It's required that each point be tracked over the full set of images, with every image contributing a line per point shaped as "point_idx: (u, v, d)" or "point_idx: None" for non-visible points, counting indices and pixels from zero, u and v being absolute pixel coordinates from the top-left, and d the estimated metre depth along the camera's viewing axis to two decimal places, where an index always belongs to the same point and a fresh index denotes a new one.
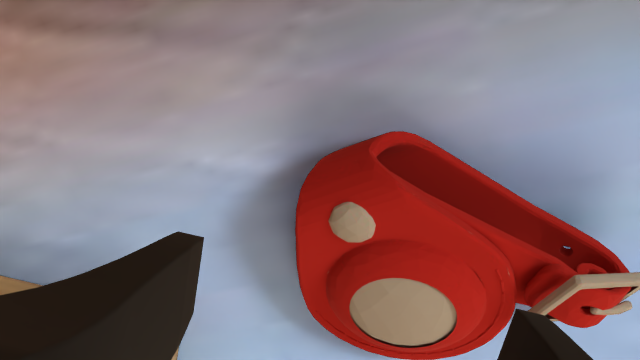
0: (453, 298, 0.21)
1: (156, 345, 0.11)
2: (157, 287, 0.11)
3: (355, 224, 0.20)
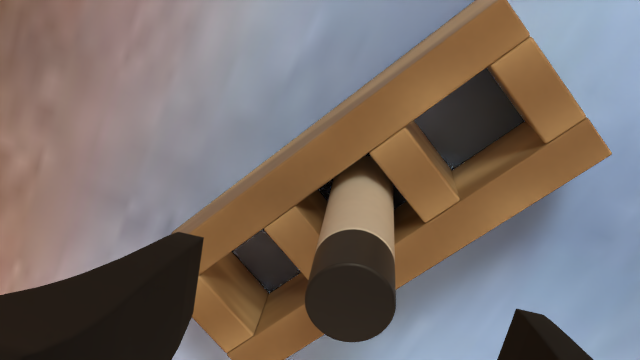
0: None
1: (156, 345, 0.11)
2: (157, 287, 0.11)
3: None
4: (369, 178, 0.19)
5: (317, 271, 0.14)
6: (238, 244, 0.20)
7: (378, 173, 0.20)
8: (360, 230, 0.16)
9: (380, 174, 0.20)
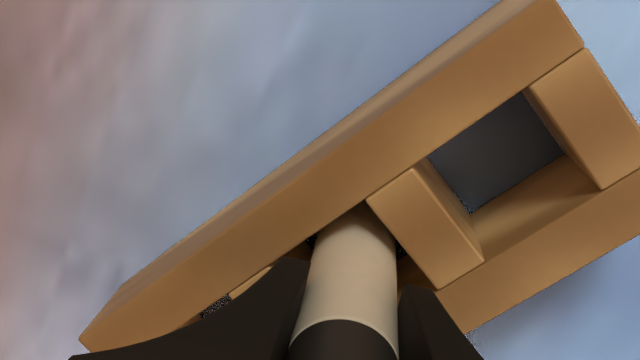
0: None
1: None
2: (288, 317, 0.11)
3: None
4: (364, 229, 0.15)
5: None
6: (195, 313, 0.15)
7: (376, 220, 0.16)
8: (350, 320, 0.11)
9: (378, 222, 0.16)
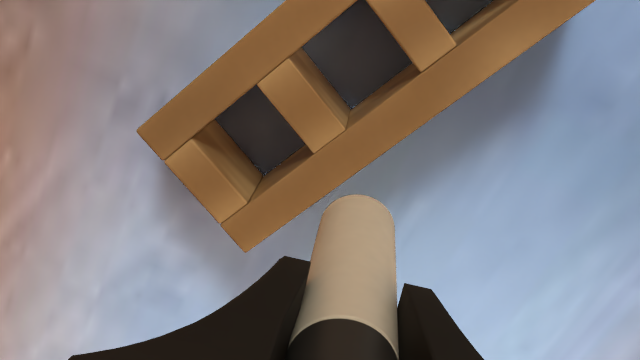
0: None
1: None
2: (288, 317, 0.11)
3: None
4: (364, 229, 0.15)
5: None
6: (230, 102, 0.20)
7: (375, 219, 0.16)
8: (350, 319, 0.11)
9: (378, 221, 0.16)
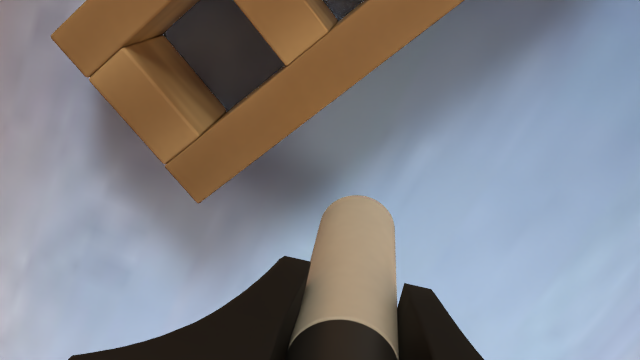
0: None
1: None
2: (288, 317, 0.11)
3: None
4: (363, 230, 0.15)
5: None
6: None
7: (376, 220, 0.16)
8: (350, 320, 0.11)
9: (378, 222, 0.16)
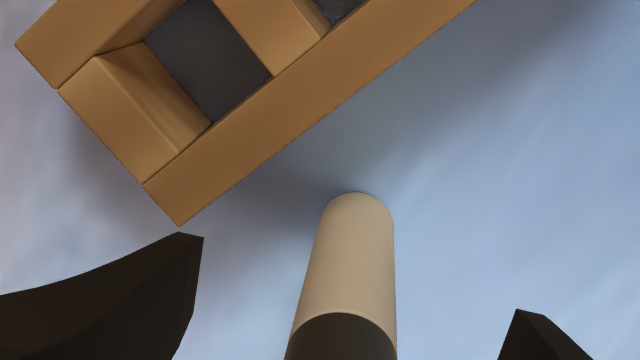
0: None
1: (156, 345, 0.11)
2: (157, 287, 0.11)
3: None
4: (363, 225, 0.15)
5: None
6: None
7: (374, 216, 0.16)
8: (349, 312, 0.11)
9: (377, 218, 0.16)
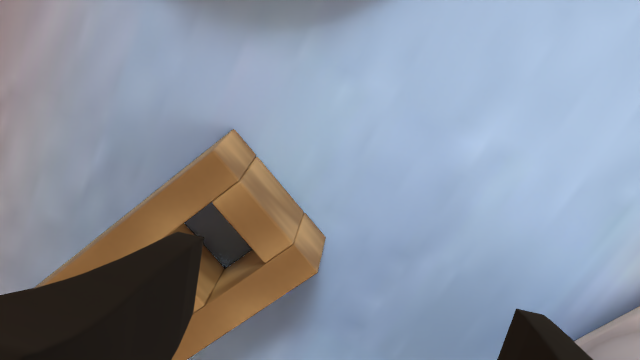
0: None
1: (156, 345, 0.11)
2: (157, 287, 0.11)
3: None
4: None
5: None
6: None
7: None
8: None
9: None
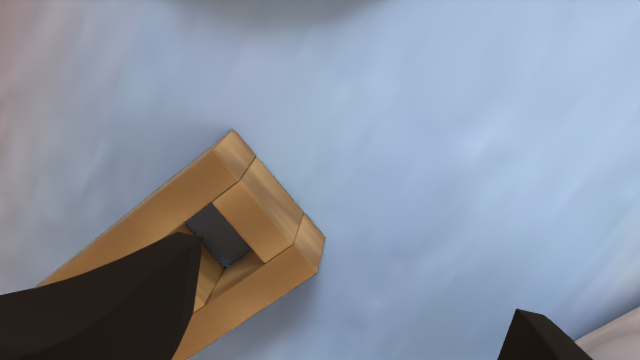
0: None
1: (156, 345, 0.11)
2: (157, 287, 0.11)
3: None
4: None
5: None
6: None
7: None
8: None
9: None
